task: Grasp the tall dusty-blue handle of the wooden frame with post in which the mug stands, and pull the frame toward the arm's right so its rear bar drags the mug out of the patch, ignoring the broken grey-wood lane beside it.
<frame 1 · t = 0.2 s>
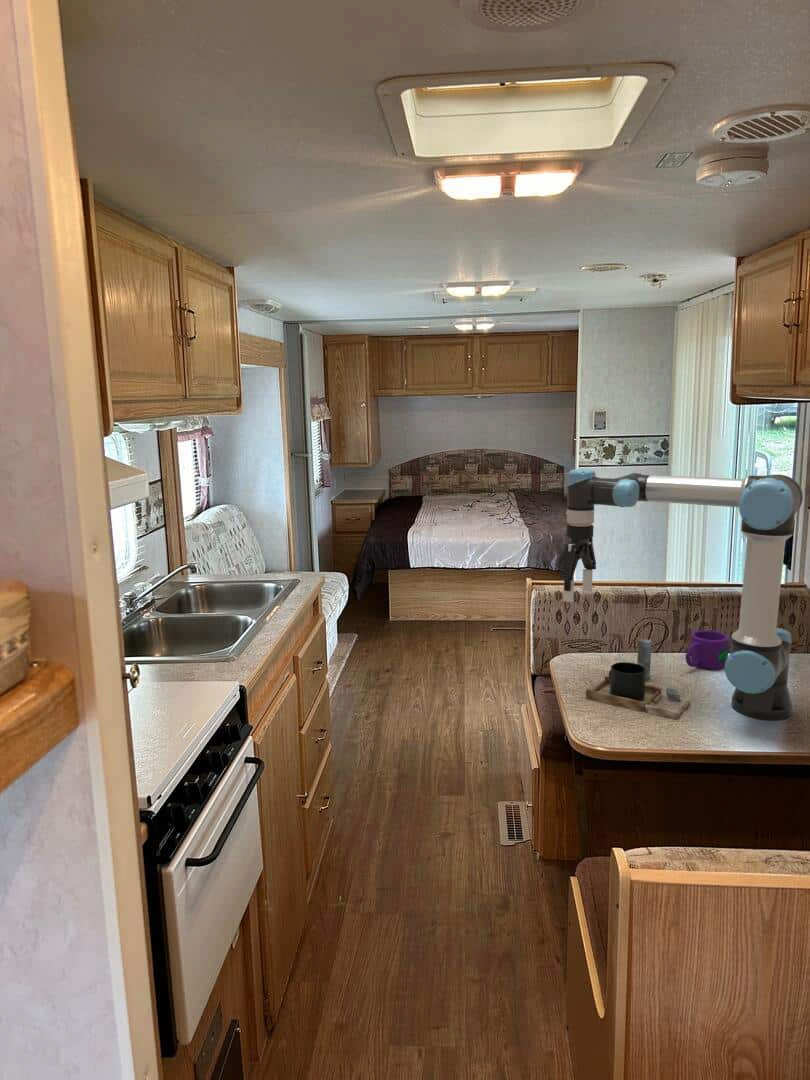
hand: (577, 596, 224), 27 cm above the table, fingers open, 13 cm apart
mug 2: (702, 667, 243), on the table
wooden frame with post: (631, 671, 224), point 6 cm above the table, slide at 0.0 cm
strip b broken: (667, 708, 212), on the table
mug: (623, 697, 221), resting in wooden frame with post
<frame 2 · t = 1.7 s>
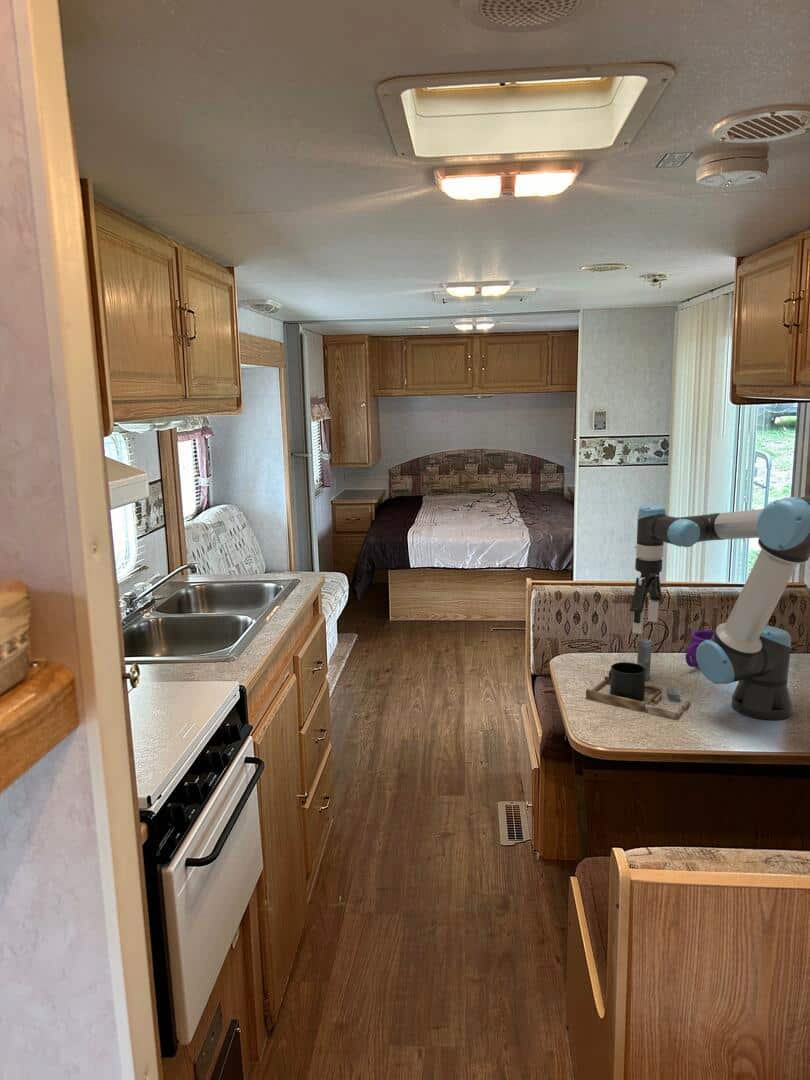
hand: (645, 627, 231), 16 cm above the table, fingers open, 13 cm apart
nothing on the table moved.
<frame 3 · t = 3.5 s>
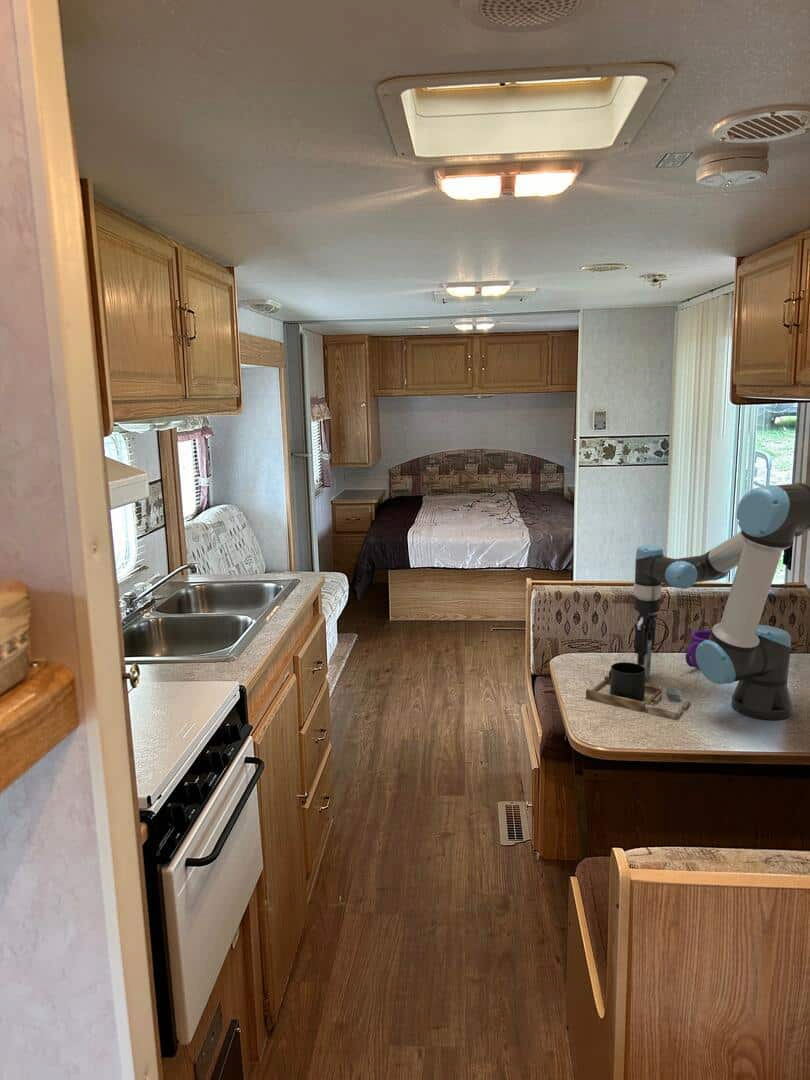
hand: (643, 672, 233), 2 cm above the table, fingers closed on wooden frame with post, 3 cm apart
wooden frame with post: (631, 671, 224), point 6 cm above the table, slide at 0.0 cm, touching gripper
everything else where it was.
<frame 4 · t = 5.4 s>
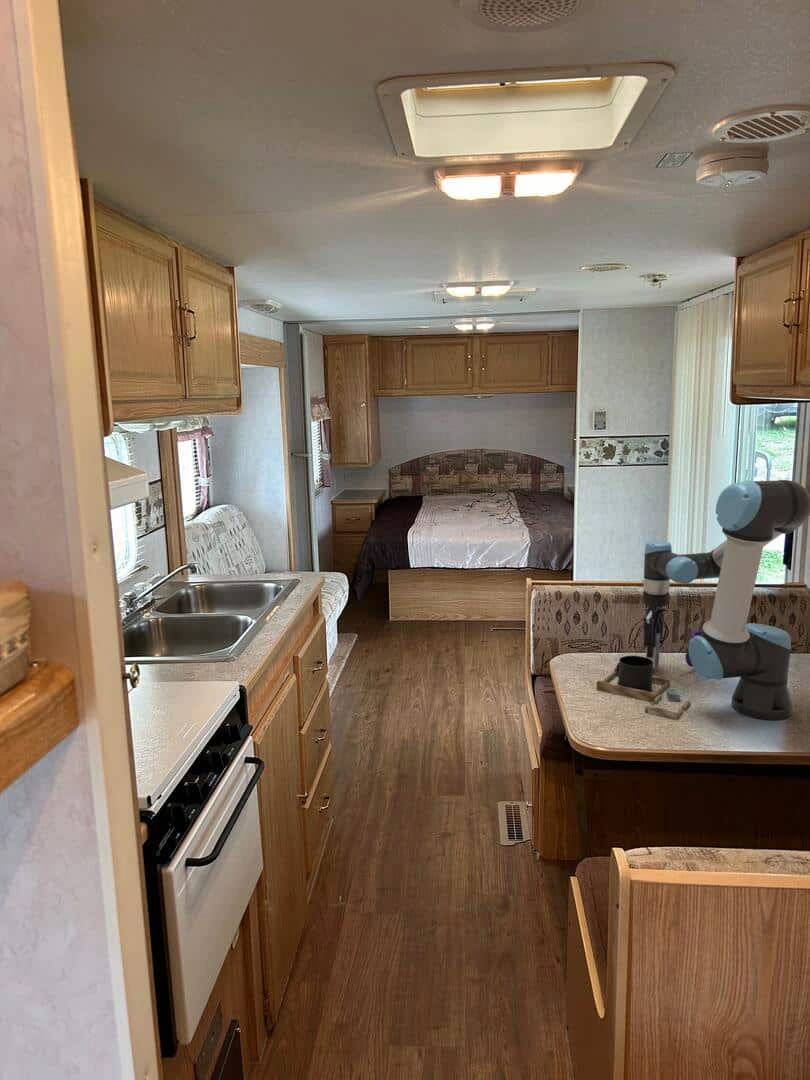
hand: (652, 664, 240), 2 cm above the table, fingers closed on wooden frame with post, 3 cm apart
wooden frame with post: (640, 663, 230), point 6 cm above the table, slide at 7.9 cm, touching gripper, mug
mug: (631, 689, 226), resting in wooden frame with post
everything else where it was.
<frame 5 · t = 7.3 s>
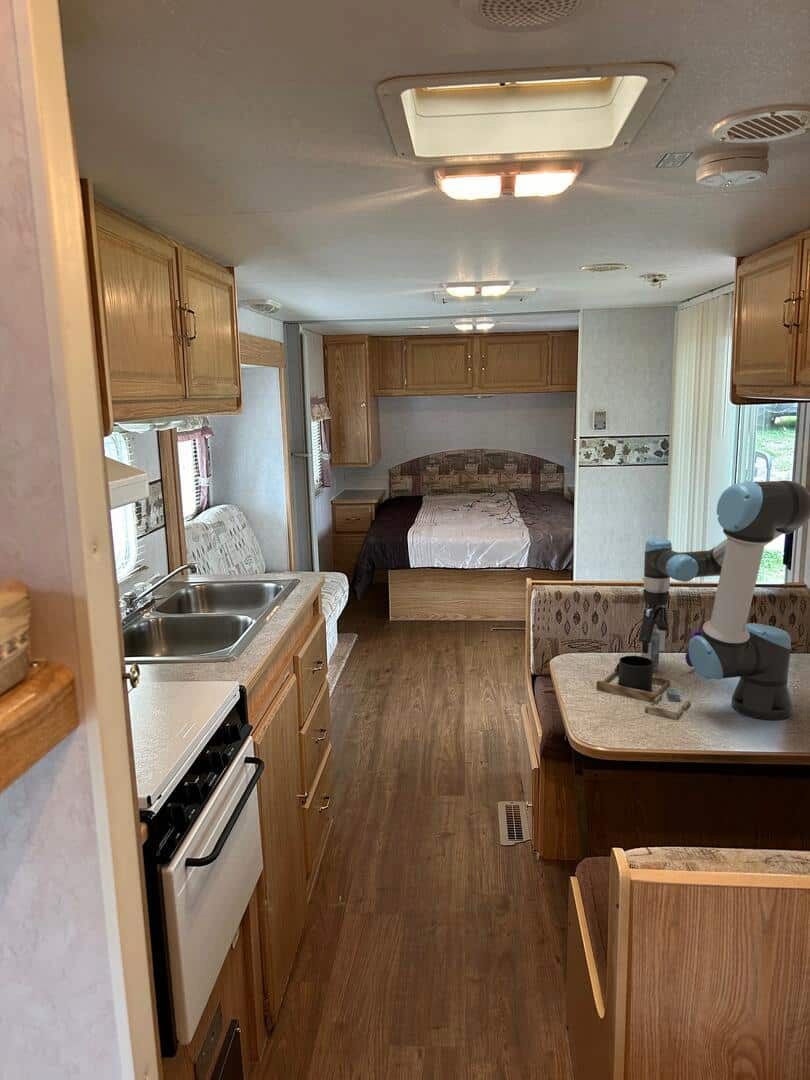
hand: (652, 656, 239), 5 cm above the table, fingers open, 13 cm apart
wooden frame with post: (640, 663, 230), point 6 cm above the table, slide at 7.9 cm
mug: (631, 689, 226), resting in wooden frame with post
everything else where it was.
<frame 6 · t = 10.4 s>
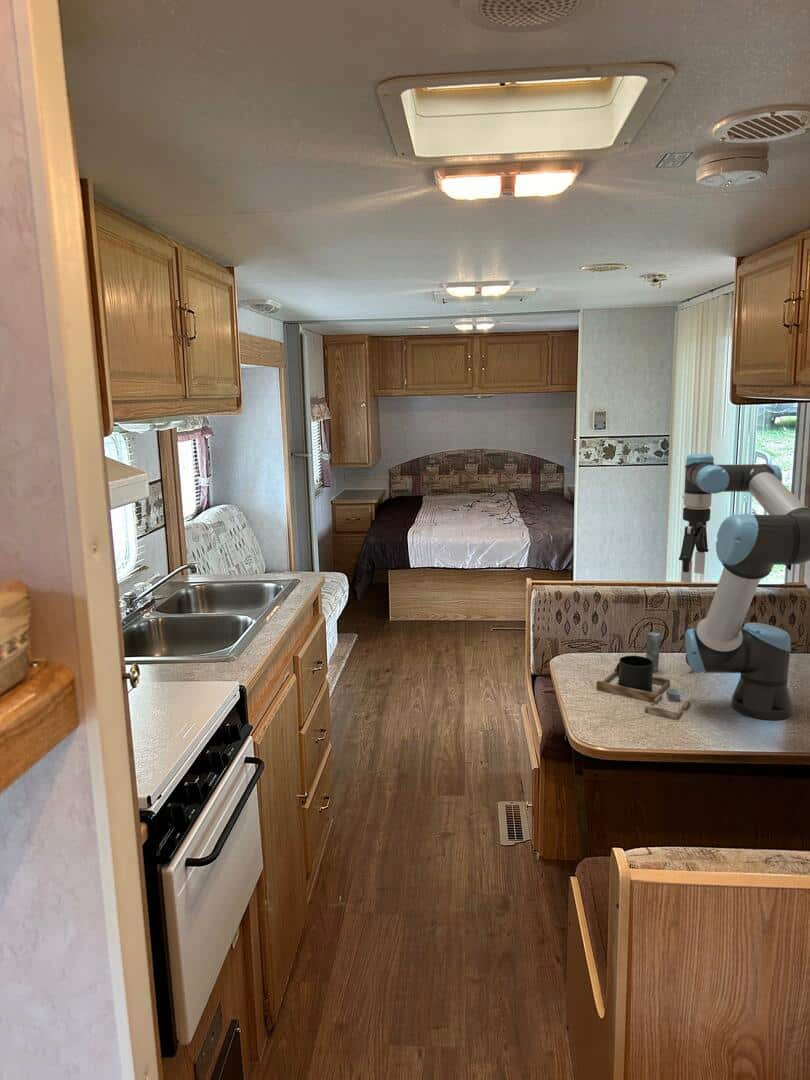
hand: (692, 577, 230), 31 cm above the table, fingers open, 13 cm apart
nothing on the table moved.
at the end: wooden frame with post slide at 7.9 cm; mug inside the target area (0.3 cm from its centre), resting in wooden frame with post; mug tilted 0° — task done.
